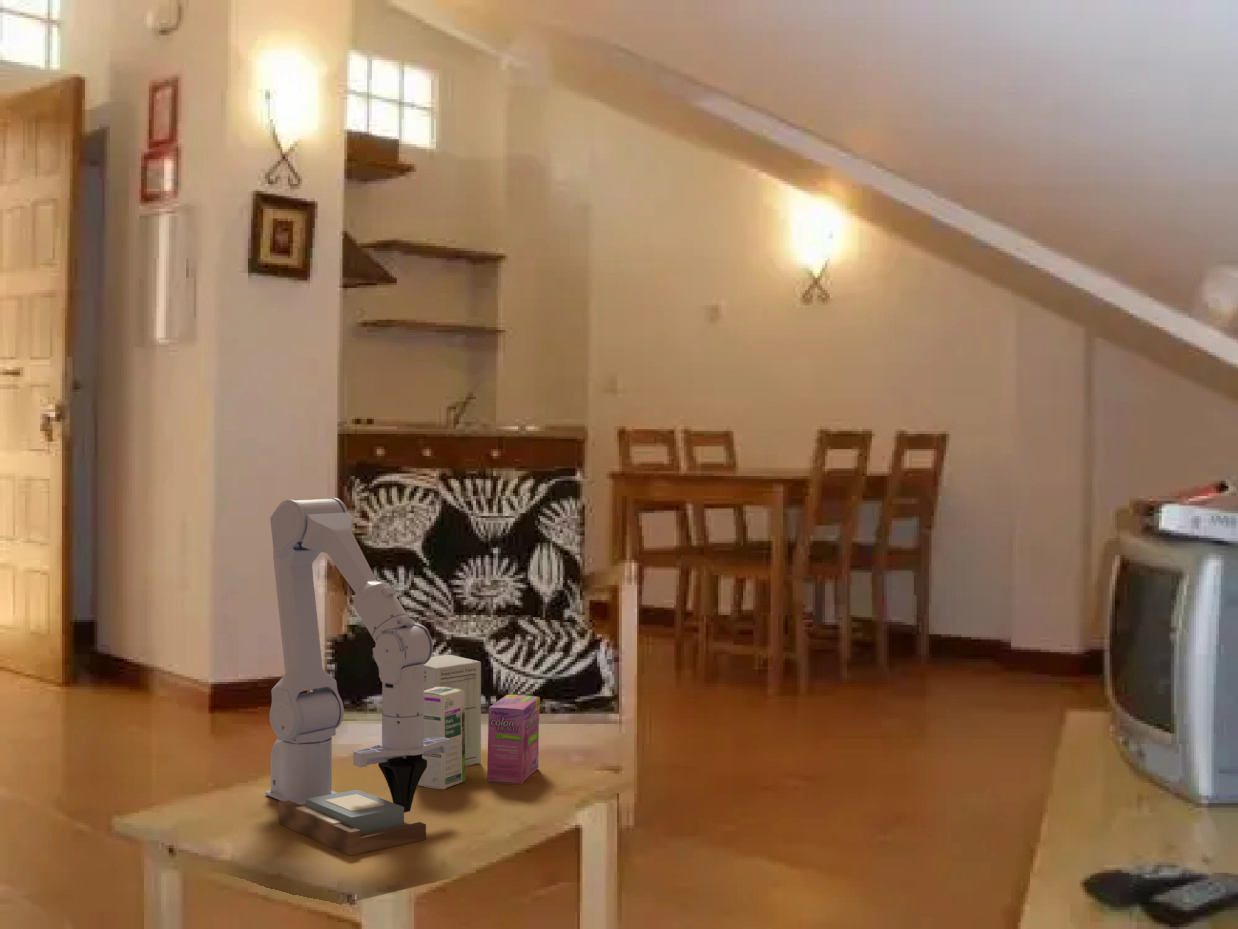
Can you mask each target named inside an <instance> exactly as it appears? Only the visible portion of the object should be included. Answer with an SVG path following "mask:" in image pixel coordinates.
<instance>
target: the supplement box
mask: <svg viewBox="0 0 1238 929" xmlns="http://www.w3.org/2000/svg"><path fill="white" fill-rule="evenodd" d="M481 684H482V662H481V661H480V660H479V661H478V660H476V659H475V660H474V659H471V658H466V657H462V656H457V655H453V654H445V655H443V654H442V655H436V656H431V658H430V660H429V661H428V662H427V663H426V664H424V690H428V689H432V688H434V687H453V688H458V689H462V690H464V691H465V767H467V766H472V765H477V764H481V763H482V709H481V708H482V689H481V688H482V685H481Z"/></svg>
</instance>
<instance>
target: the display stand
mask: <svg viewBox="0 0 1238 929" xmlns="http://www.w3.org/2000/svg"><path fill="white" fill-rule="evenodd" d="M278 824H279V825H281V826H283V827H285V828H288V829H290V830H292V831H295V832H296V833H298V834H301V835H304V836H306V837H307V838H310V839H312V840H314V841H317V842H319V843H321V844H323V845H326V846H327V847H330V848H332V849H335V850H336V851H339V852H341V853H343V854H346V855H347V856H349V857H350V856H356V855H359V854H364V853H369V852H374V851H378V850H383V849H387V848H393V847H397V846H402V845H405V844H406V845H407V844H411V843H416V842H419V841H424V840H427V824H426V823H423V822H421V821H417V822H414V823H413V822H412V823H409V824H408V823H407V824H404V825H403V826H398V827H393V828H388V829H383V830H379V831H374V832H369V833H364V834H360V833H361V830H358V829H356V828H354V827H351V826H349V825H347V824H344V823H342V822H341V821H338V820H336V819H334V818H331V817H329V816H327V815H324V814H322V813H319V812H317V811H315V810H312V809H310V808H308V807H306V804H304V805H299V804H297V803H294V802H292V801H290V800H287V801H278Z"/></svg>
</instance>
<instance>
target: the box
mask: <svg viewBox="0 0 1238 929" xmlns="http://www.w3.org/2000/svg"><path fill="white" fill-rule="evenodd" d="M540 699H541V697H540V696H537V695H536V696H535V695H525V694H523V695H522V694H521V695H520V694H506V695H505V696H503V697H501V698H500V699H499V700H497V701H496V702H494V703H493V704H492V705H490V706H489V707H488V716H487V717H488V720H487V722H488V724H487V770H486V772H487V773H486V774H487V775H486V780H487V783H495V784H496V783H497V784H509V785H510V784H511V785H522V784H523V783H524V782H525V781H526V780H527V779H528V778H529V777H530V776H531V775H533V773H534V772H536V771H537V770H538V769H539V742H540V741H539V737H540V734H539V733H540V731H539V730H540V707H541V706H540V705H541V704H540V702H541V701H540Z"/></svg>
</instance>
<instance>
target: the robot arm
mask: <svg viewBox="0 0 1238 929" xmlns="http://www.w3.org/2000/svg"><path fill="white" fill-rule="evenodd" d="M269 519H270V528H271V538H272V539H271V540H272V548H273V552H272V553H273V565H274V566H273V567H274V577H275V586H276V587H275V588H276V596H277V597H276V598H277V607H278V614H279V624H280V625H279V626H280V635H281V636H280V637H281V645H282V656H283V665H284V674H283V675H282V677H281V678H280V679H279V681H278V682H277V683H276V684H275V685H274V686H273V687H272V688H271V691H270V692H271V704H270V705H271V706H270V710H269V723H270V727H271V730H272V731H273V733H274V734H275V735H276V737H277V738H276V740H275V741H274V743H273V744H272V748H271V750H270V789H269V790H266V791H264V794H265V795H266V796H269V797H271V798H273V799H276V800H277V801H279V802H281V801H287V800H290V801H292V802H294V803H297V804H299V805H304V804H306V799H308V798H313V797H319V796H324V795H329V794H335V793H338V792H337V791H334V790H333V789H332V781H333V780H332V779H333V778H332V776H333V775H332V771H333V770H332V764H333V763H332V762H333V761H332V760H333V758H332V750H333V746H332V745H333V743H332V742H333V741H332V740H333V739H332V737H334V736H336V734H337V732H336V731H337V730H336V729H338V728H339V727H340V726H341V724H342V722H343V720H344V714H345V709H344V704H343V700H342V698H341V696H340V694H339V691H338V684H337V680H336V679H335V678H334V677H333V676H331V675H330V674H329V673H328V672H327V671H325V669H323V659H322V650H321V640H320V631H319V622H318V621H319V620H318V613H317V612H318V611H317V602H316V600H317V599H316V593H315V591H316V590H315V583H314V582H315V581H314V572H313V563H314V562H315V561H316V559H317V558H318V557H319V555H320V554H321V553H325V554H327V555H328V557H329V558H330V560H331V561H332V563H333V564H334V565H335V567H336V568H337V569H338V571H339V573H340V574H341V575H342V576H343V578H344V579H345V580H346V583H348V585H349V587H351V588H350V589H352V590H353V591H354V593H355V594H354V598H353V603H352V605H353V607H354V610H355V611H356V613H357V614H358V616H359V617H360V620H361V622H363V624H364V627H366V629H367V631H368V633H369V634H370V636H371V638H372V639H373V641H374V642H375V647H372V654H373V660H374V661H375V663H376V665H377V667H378V678H380V679H379V680H380V682H381V683H382V686H381V687H382V688H381V690H382V691H381V696H382V697H381V699H382V700H381V704H382V706H381V708H382V709H381V743H379V744H376V745H373V746H369V747H366V748H363V749H359V750H358V749H357V750H353V751H352V752H353V755H352V761H353V762H352V764H353V766H355V767H358V768H365V767H366V768H367V766H369V765H376V764H378V767H379V769H380V771H381V772H382V775H383V776H384V779H385V782H386V783H387V785H388V788H389V792H390V795H391V798H392V803H395V804H397V805H400V806H403V807H404V814H405V813H410V812H411V809H412V806H413V805H412V804H413V800H414V796H415V794H416V790H417V787H418V786H419V785H418V783H419V780H420V778H421V776H422V774H423V773H424V771H425V769H426V768H427V760H426V759H423V758H422V756H424V755H430V754H436V753H450V739H448V738H445V737H438V738H427V739H424V664H426V663H427V662H428V661H429V660H430V658H431V657H433V652H434V643H433V638H432V636H431V634H430V631H429V629H428V628H427V627H426V626H424V625H422V624H420V623H417V622H416V621H415V620H414V619H412V618H410V617H409V615H408V613H407V612H406V611H405V608H404V607H403V606H402V604H401V602H400V601H399V599H398V597H397V595H396V591H395V589H394V588H393V587H392V586H390V585H389V584H388V583H386V582H382V581H379V580H377V579H376V577H375V574H374V572H373V570H372V568H371V567H370V565H369V563H368V561H367V559H366V557H365V555H364V553H363V551H362V549H361V547H360V545H359V543H358V541H357V540H356V537H355V536H354V533H353V532H352V530H353V525H354V523H353V522H354V519H353V516H352V515H351V514H350V513H349V512H348V508H347V506H346V504H345V503H344V502H343V501H342V500H341V499H339V498H337V497H328V498H321V499H320V498H317V499H315V498H314V499H298V500H297V499H296V500H295V499H285V500H283V501H281V502H280V503H279V504H278V506H277V507H276V509H275V510H274V512H273V513H272V514H271V516H270V518H269ZM310 690H311V691H310ZM305 691H310V692H305ZM302 692H304V693H302Z"/></svg>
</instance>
